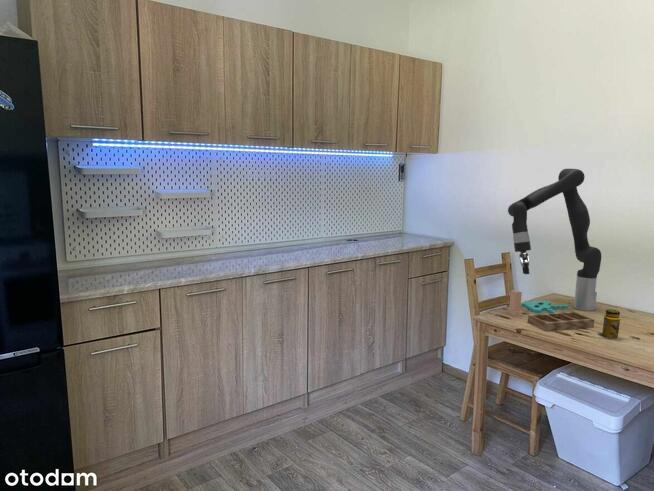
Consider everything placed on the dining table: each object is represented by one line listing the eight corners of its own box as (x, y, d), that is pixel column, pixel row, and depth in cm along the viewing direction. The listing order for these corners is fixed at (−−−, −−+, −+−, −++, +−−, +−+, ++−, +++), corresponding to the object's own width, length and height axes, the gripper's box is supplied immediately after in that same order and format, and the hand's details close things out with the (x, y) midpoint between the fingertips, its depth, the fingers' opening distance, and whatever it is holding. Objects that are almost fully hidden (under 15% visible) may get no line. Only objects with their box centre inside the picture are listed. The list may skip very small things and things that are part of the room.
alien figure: (568, 309, 253) (529, 302, 265) (568, 305, 253) (529, 298, 265) (558, 318, 238) (517, 310, 250) (558, 313, 237) (517, 306, 250)
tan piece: (506, 312, 244) (508, 290, 242) (514, 312, 245) (516, 289, 243) (514, 316, 238) (516, 293, 236) (522, 315, 239) (523, 292, 237)
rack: (572, 318, 235) (573, 311, 235) (593, 327, 223) (594, 319, 222) (527, 322, 229) (528, 314, 228) (546, 331, 217) (546, 323, 216)
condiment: (619, 340, 206) (622, 314, 204) (596, 337, 210) (599, 311, 208) (618, 335, 212) (621, 309, 210) (596, 332, 216) (599, 306, 214)
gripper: (531, 240, 232) (535, 273, 231) (528, 241, 245) (533, 272, 244) (514, 242, 234) (519, 275, 233) (512, 243, 247) (517, 274, 246)
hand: (526, 273), depth 238 cm, fingers open, 8 cm apart
